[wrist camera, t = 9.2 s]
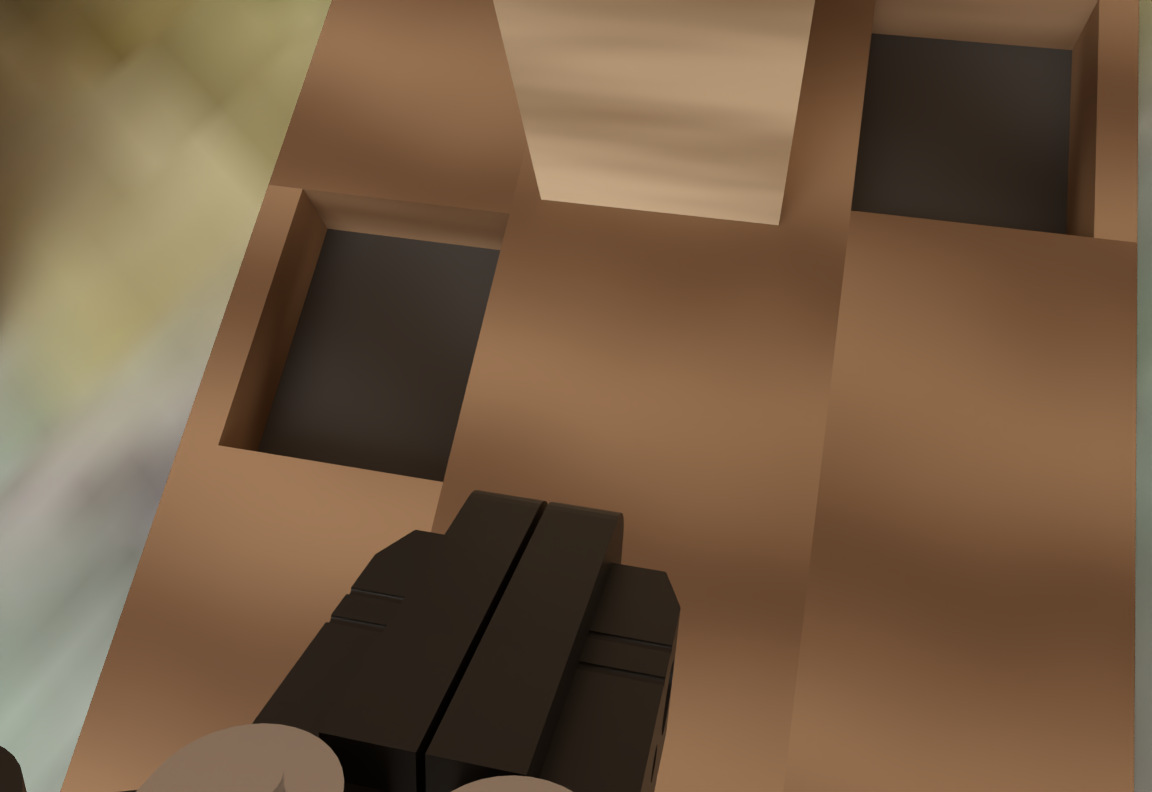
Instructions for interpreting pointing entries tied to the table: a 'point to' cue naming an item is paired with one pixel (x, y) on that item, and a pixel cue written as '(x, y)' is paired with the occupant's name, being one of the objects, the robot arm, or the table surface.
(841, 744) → the trap deck
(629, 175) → the maple block
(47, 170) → the table surface
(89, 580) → the table surface
